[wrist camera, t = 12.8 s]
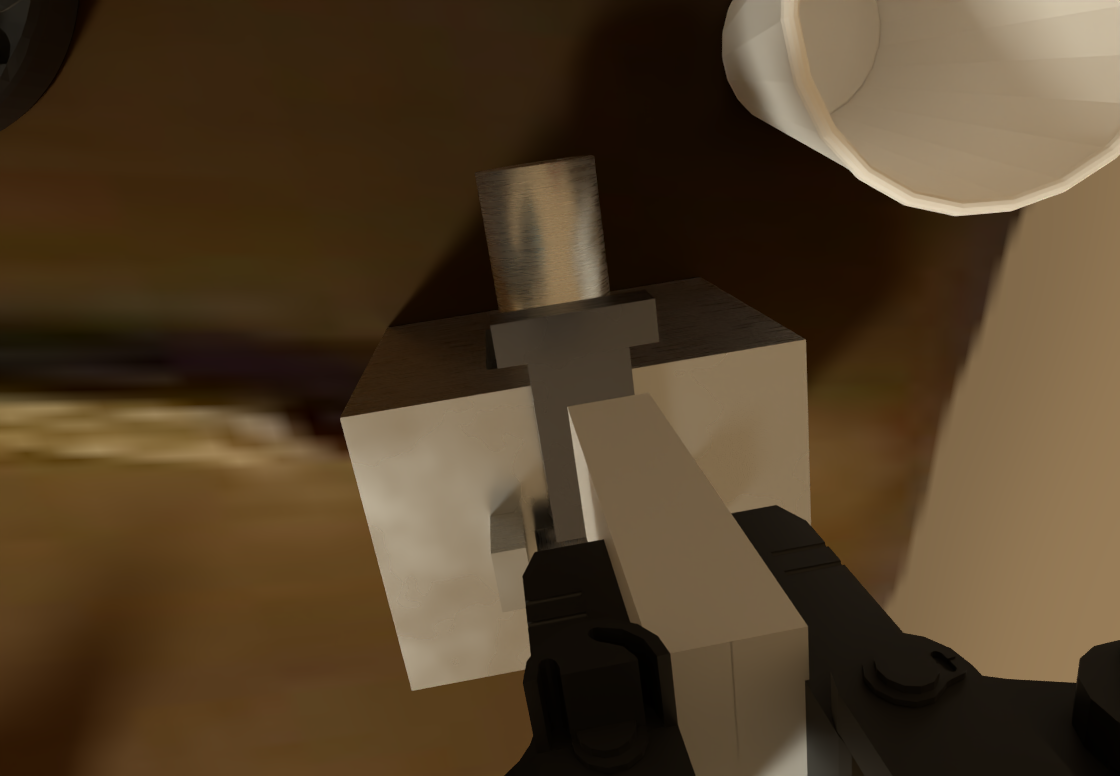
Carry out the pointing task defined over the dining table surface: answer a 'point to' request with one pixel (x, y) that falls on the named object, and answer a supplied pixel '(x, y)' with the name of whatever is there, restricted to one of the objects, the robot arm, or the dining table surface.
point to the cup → (937, 92)
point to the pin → (544, 232)
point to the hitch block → (517, 465)
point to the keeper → (572, 381)
